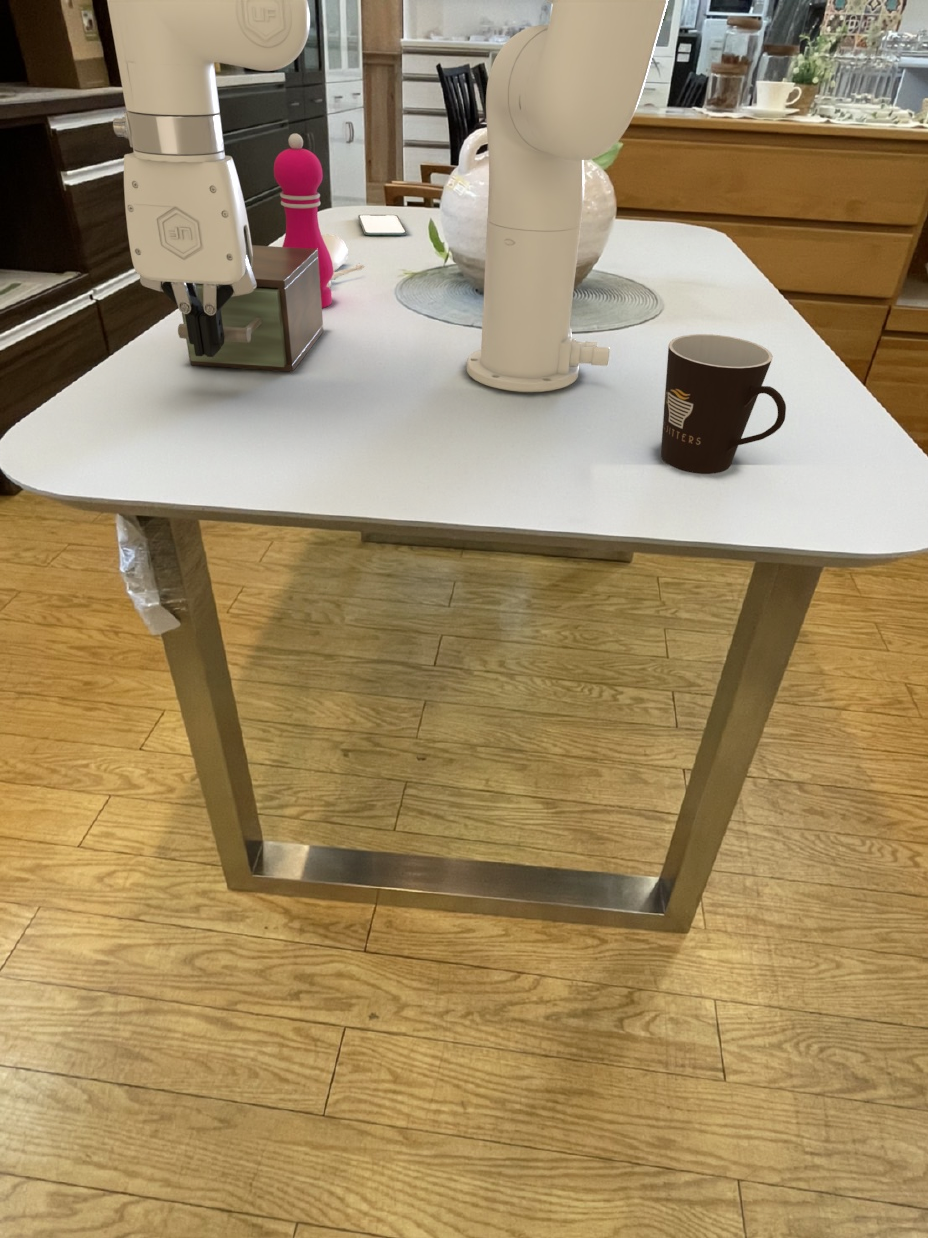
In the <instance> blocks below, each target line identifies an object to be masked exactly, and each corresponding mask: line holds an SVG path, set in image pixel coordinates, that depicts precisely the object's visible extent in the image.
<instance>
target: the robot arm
mask: <svg viewBox="0 0 928 1238" xmlns="http://www.w3.org/2000/svg"><path fill="white" fill-rule="evenodd" d="M545 1H546V2H547V3H550V4H552V6H551V7H552V8H551V12H550V15H549V21H548V24H537V25H534V26H530V27H529V26H528V27H527V28H524V29H523V30H521V31H519V32H517V33H516V34H514V35H513V36H512V37H510V38H509V39H508V40H507V41H506V42H505V43H504V44H503V45H502V46H501V48H500V49H499V51H498V53H497V54H496V57H495V58H494V60H493V62H492V66H491V67H490V70H489V74H488V78H487V85H486V90H485V91H486V92H485V93H486V94H485V117H486V118H485V119H486V121H485V122H486V133H487V147H488V149H487V150H488V197H487V198H488V199H487V219H486V235H485V236H486V238H485V259H484V280H483V299H482V300H483V301H482V302H483V303H482V320H481V321H482V323H481V343H480V344H481V346H480V349H478V350H476V351H474V352H473V353H471V354H470V355H469V356H468V357H467V358H466V373H467V374H468V375H469V376H470V377H471V378H472V379H473V380H474V381H476V382H479V383H480V384H482V385H485V386H486V387H487V386H488V387H490V388H494V389H498V390H504V391H509V392H510V391H511V392H519V393H541V392H542V393H543V392H550V391H555V390H556V391H557V390H559V389H563V388H566V387H568V386H570V385H571V384H573V383H575V382H576V380H578V377H579V370H580V369H579V368H580V367H579V364H589V365H591V366H603V367H608V365H609V359H610V347H606V346H598V342H596V341H577V338H573V337H572V336H573V335H572V327H571V326H570V325H571V319H572V318H571V316H572V308H573V307H572V306H573V297H574V289H575V282H576V281H575V280H576V271H577V262H578V253H579V246H580V245H579V244H580V237H581V226H582V221H583V220H582V219H583V213H584V212H583V211H584V201H585V200H584V199H585V167H584V166H585V165H584V161H589V160H592V159H596V158H598V157H600V156H602V155H604V154H606V153H607V152H608V151H610V149H612V148H613V147H614V146H615V145H616V144H617V143H618V142H619V140H621V138H622V137H623V136H624V134H625V132H626V130H627V129H628V127H629V126H630V123H631V121H632V120H633V118H634V115H635V113H636V111H637V107H638V105H639V102H640V99H641V97H642V94H643V90H644V87H645V83H646V79H647V76H648V74H649V70H650V66H651V62H652V58H653V55H654V51H655V48H656V44H657V41H658V37H659V34H660V30H661V26H662V23H663V19H664V17H665V14H666V13H665V12H666V9H667V6H668V1H669V0H545ZM106 2H107V8H108V14H109V19H110V25H111V31H112V37H113V42H114V48H115V54H116V60H117V66H118V70H119V71H118V72H119V77H120V82H121V87H122V92H123V100H124V105H125V111H123V112H124V113H123V114H124V116H122V117H121V118H119V117H114V118H113V120H112V129H113V131H114V134H115V136H116V137H124V138H125V139H128V141H129V147H130V148H132V150H133V152H130V153H126V154H124V155H123V190H124V191H123V192H124V208H125V218H126V229H127V237H128V243H129V251H130V256H131V262H132V265H133V268H134V270H135V272H136V273H137V274H138V275H139V283H140V285H141V286H143V287H144V288H148V289H151V290H154V291H158V292H163V293H164V294H165V295H166V296H167V297H168V298H169V299H171V301H172V302H174V304H176V306H177V309H179V312H180V313H181V314H182V313H184V314H185V318H186V325H187V331H188V337H189V342H190V344H194V350H195V355H196V356H203V355H204V354H205V355H206V356H207V357H213V356H214V355H215V354H216V353H217V352H218V351H219V350H220V349H221V346H222V345H223V344H224V331H223V323H222V316H221V308H222V307H223V306H224V304H225V303H226V302H227V301H228V300H229V299H230V298H231V297H233V296H239V295H244V294H249V293H252V292H253V291H254V290H255V289H256V287H257V284H256V281H255V278H254V275H253V272H252V266H253V252H252V245H253V244H252V236H251V231H250V224H249V220H248V213H247V209H246V205H245V199H244V195H243V191H242V187H241V183H240V179H239V176H238V172H237V168H236V165H235V162H234V159H233V157H232V156H231V155H226V153H225V145H224V144H225V143H224V135H223V134H224V133H223V126H222V118H221V113H220V111H221V110H220V103H219V102H220V101H219V94H218V85H217V77H216V66H215V63H219V64H223V65H224V64H225V65H230V66H235V67H240V68H241V67H242V68H245V69H250V70H254V71H261V72H270V71H276V70H281V69H284V68H285V67H287V66H289V65H290V64H292V63H293V62H294V61H295V60H297V58H298V57H299V56H300V54H301V53H302V52H303V50H304V48H305V46H306V44H307V42H308V38H309V35H310V29H311V13H310V12H311V11H310V7H309V2H308V0H106ZM195 283H199V284H203V306H202V302H201V301H200V298H199V294H198V291H197V287H196V284H195Z"/></svg>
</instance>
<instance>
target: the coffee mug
mask: <svg viewBox="0 0 928 1238" xmlns="http://www.w3.org/2000/svg"><path fill="white" fill-rule="evenodd" d="M667 348H668V350H667V362H666V376H665V390H664V404H663V416H662V418H663V419H662V431H661V433H662V434H661V444H660V445H661V447H660V457H661V459H662V460H663V462H665V464H667V465H669V466H670V467H672V468H674V469H677V470H679V471H683V472H687V473H691V474H698V475H713V474H714V475H716V474H720V473H723V472H726V471H727V470H729V469H730V467H731V465H732V463H733V461H734V457H735V455H736V453H737V450H738V447H739V446H741V445H742V446H743V445H747V444H750V443H754V442H758V441H762V440H764V439H766V438H768V437H770V436H772V435H774V434H775V433H776V432H778V430H780V428H781V427H782V426H783V424H784V422H785V421H786V415H787V414H786V412H787V405H786V401H785V399H784V397H783V395H782V394H781V393H780V392H779V391H778V390H777V389H776V388H774V387H772V386H769V385H763V384H764V382H765V378H766V376H767V373H768V371H769V370H770V369H769V368H770V366H771V364H772V361H773V354H772V352H771V351H770V350H769V349H767V348H766V347H764V346H762V345H760V344H758V343H756V342H752V341H751V340H750V341H749V340H747V339H744V338H743V339H742V338H738V337H734V336H729V335H721V334H705V333H700V334H697V333H696V334H687V335H686V334H685V335H682V336H678V337H675V338H673V339H672V340H670V341H669V343H668V347H667ZM760 394H766V395H768V396H769V397H771V398H772V400H773V401H774V403H775V405H776V409H777V416H776V420H775V422H774V423H773V425H772V426H771V427H769V428H768V429H766V430H765V431H763V432H761V433H758V434H754V435H751V436H747V437H743V434H744V432H745V430H746V427H747V424H748V422H749V419H750V417H751V414H752V412H753V410H754V407H755V404H756V403H757V399H758V396H759V395H760Z"/></svg>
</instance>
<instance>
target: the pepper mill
mask: <svg viewBox="0 0 928 1238" xmlns="http://www.w3.org/2000/svg"><path fill="white" fill-rule="evenodd" d="M288 146H289V147H290V148H285V149H284V150H283V151H281V152H280V153H279V154H278V155H277V156H276V158H275V160H274V164H273V176H274V179H275V182H276V183H277V184H278V186H279V187H280V189H281V190H282V191H281V192H280V193H279V197H280V200H281V201H280V205H281V206H283V208H284V214H285V227H286V228H285V236H284V239H283V243H282V246H281V247H290V248H308V249H318V261H319V276H320V290H321V304H322V309H325V308H326V307H329V306H330V305H331V304H332V298H333V297H332V289H331V287H327V284H328V282H329V281H332V280H331V278H332V276H333V264H332V260H331V257H330V254H329V251H328V249H327V247H326V245H325V243H324V240H323V238H322V236H321V235H322V233H321V229H320V226H319V225H320V224H319V218H318V213H319V212H318V210H319V209H318V207H320V206H321V201H320V197H321V194H320V193H319V192H318V188H319V187H320V185H321V183H322V182H323V177H324V175H323V168H322V164H321V161H320V159H319V158H318V157H317V155H316V154H314V153H313V152H312V151H310V150H308V149H305V148H303V146H304V139H303V137H302V136H301V134H298V133H292V134H290V135H289V136H288Z"/></svg>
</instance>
